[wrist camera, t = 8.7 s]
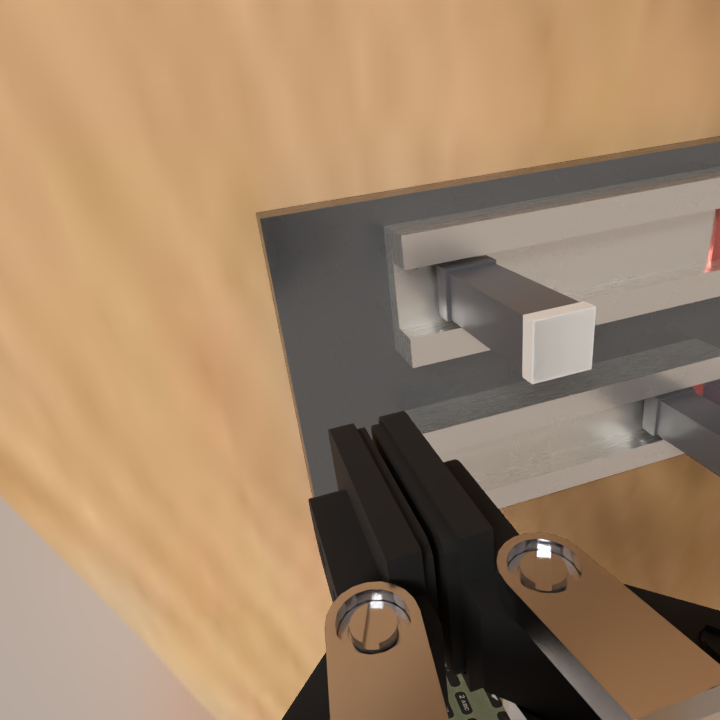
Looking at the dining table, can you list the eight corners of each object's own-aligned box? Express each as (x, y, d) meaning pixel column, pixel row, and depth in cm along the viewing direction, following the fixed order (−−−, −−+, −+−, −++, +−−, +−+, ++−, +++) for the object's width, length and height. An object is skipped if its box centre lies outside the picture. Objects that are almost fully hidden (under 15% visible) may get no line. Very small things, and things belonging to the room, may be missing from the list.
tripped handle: (436, 264, 20) (531, 319, 14) (485, 255, 20) (597, 304, 14) (439, 315, 20) (530, 386, 15) (486, 305, 21) (592, 370, 15)
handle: (645, 391, 25) (776, 468, 19) (681, 382, 25) (820, 455, 20) (641, 427, 26) (765, 511, 20) (676, 417, 26) (807, 497, 20)
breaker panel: (255, 212, 20) (265, 228, 17) (778, 126, 24) (862, 125, 21) (317, 523, 26) (333, 576, 23) (722, 408, 31) (781, 439, 28)
